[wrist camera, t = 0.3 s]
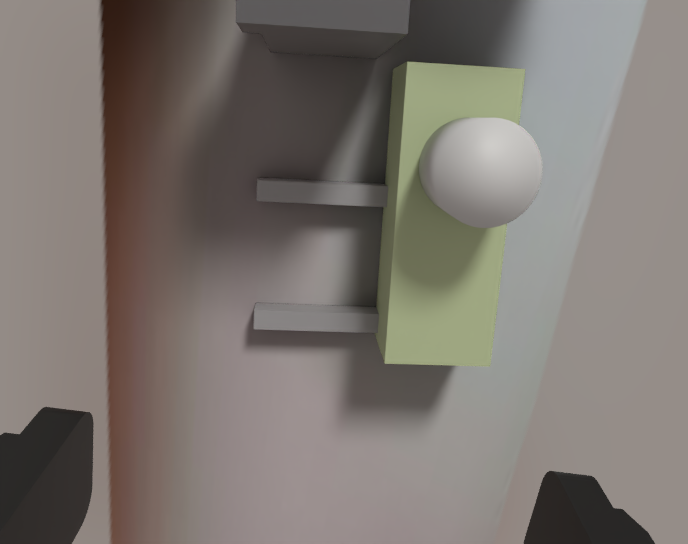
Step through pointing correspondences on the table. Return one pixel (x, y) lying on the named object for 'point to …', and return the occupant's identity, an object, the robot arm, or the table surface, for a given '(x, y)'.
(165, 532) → the table surface
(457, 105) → the pale green boxy piece
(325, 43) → the grey lidded box
